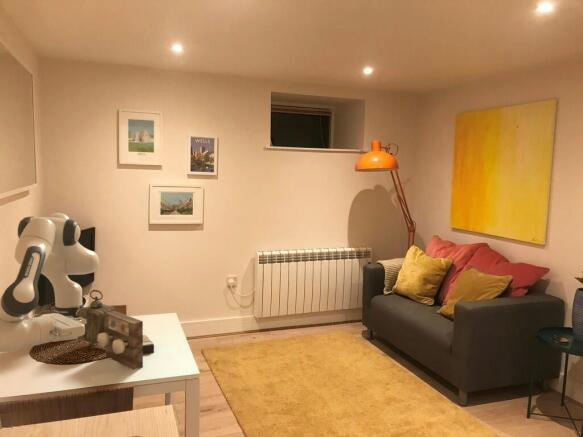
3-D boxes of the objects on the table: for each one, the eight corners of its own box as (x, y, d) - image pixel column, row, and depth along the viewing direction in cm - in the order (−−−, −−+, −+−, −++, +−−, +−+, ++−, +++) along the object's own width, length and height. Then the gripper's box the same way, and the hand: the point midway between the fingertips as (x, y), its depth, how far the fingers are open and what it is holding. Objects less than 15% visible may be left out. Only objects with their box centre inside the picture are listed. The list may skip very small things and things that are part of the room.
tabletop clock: (117, 347, 204) (116, 290, 202) (100, 354, 196) (100, 294, 194) (91, 342, 210) (91, 286, 208) (74, 348, 202) (74, 290, 199)
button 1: (104, 348, 186) (104, 335, 185) (97, 344, 189) (97, 332, 189) (120, 343, 191) (119, 331, 191) (113, 340, 194) (112, 328, 194)
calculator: (146, 333, 213) (154, 342, 200) (146, 343, 213) (154, 353, 200) (120, 337, 208) (126, 346, 194) (120, 347, 208) (126, 357, 195)
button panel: (132, 370, 182) (132, 323, 180) (104, 356, 194) (104, 313, 192) (142, 366, 185) (142, 321, 183) (114, 353, 198) (114, 310, 196)
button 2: (119, 355, 179) (119, 342, 179) (112, 352, 182) (112, 338, 182) (135, 350, 184) (135, 337, 184) (128, 347, 187) (128, 334, 187)
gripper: (58, 327, 152) (99, 317, 163) (30, 314, 165) (70, 306, 176) (58, 346, 153) (99, 336, 164) (31, 331, 166) (70, 323, 176)
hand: (84, 320), depth 170 cm, fingers closed
